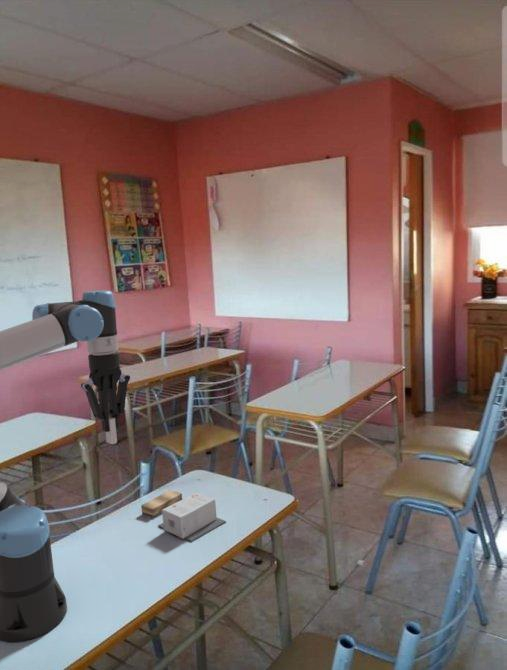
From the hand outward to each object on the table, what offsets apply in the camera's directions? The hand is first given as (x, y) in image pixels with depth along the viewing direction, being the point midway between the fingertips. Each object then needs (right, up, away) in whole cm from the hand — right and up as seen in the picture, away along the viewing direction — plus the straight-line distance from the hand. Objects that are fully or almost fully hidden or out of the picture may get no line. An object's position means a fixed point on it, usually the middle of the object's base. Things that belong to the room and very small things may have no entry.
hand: (111, 442), depth 142 cm
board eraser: (+9, -25, +25) cm, 37 cm away
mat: (+19, -26, +14) cm, 35 cm away
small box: (+14, -24, +8) cm, 29 cm away
